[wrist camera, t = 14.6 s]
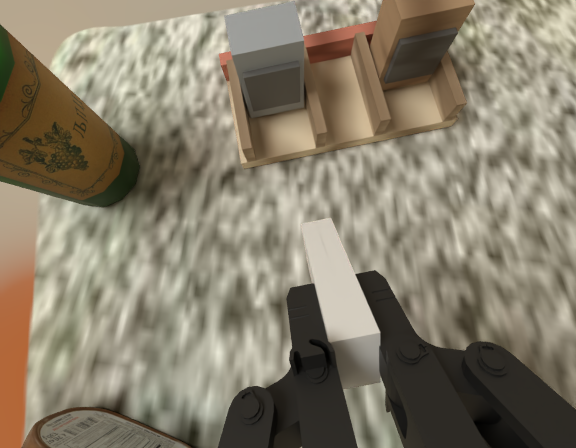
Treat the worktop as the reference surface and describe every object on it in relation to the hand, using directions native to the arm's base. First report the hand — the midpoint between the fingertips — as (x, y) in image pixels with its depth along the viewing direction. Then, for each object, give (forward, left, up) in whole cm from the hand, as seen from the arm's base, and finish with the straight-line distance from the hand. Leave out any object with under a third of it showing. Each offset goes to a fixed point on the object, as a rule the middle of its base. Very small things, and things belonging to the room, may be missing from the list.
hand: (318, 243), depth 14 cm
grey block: (0, -19, -14) cm, 24 cm away
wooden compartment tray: (-7, -18, -16) cm, 25 cm away
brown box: (-14, -19, -14) cm, 28 cm away
